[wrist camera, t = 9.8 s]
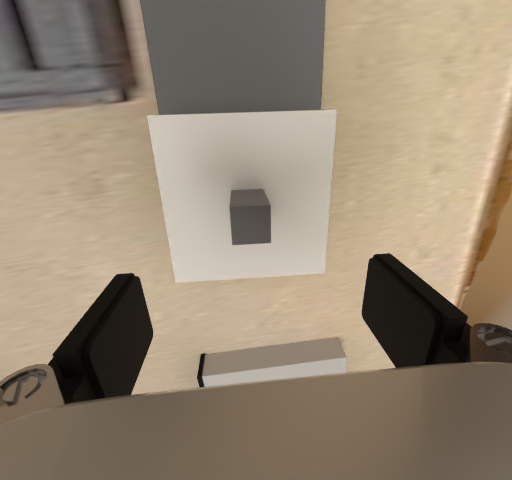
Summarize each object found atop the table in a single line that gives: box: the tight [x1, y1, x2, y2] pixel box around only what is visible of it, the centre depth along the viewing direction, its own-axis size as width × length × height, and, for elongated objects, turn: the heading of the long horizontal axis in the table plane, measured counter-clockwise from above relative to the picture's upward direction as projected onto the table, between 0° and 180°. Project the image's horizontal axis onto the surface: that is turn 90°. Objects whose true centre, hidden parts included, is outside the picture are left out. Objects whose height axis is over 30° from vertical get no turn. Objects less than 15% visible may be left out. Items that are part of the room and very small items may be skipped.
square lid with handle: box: [147, 110, 337, 283], centre depth 23 cm, size 16×16×7 cm
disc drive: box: [197, 337, 347, 387], centre depth 45 cm, size 18×22×5 cm
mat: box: [140, 0, 326, 115], centre depth 26 cm, size 18×18×1 cm
